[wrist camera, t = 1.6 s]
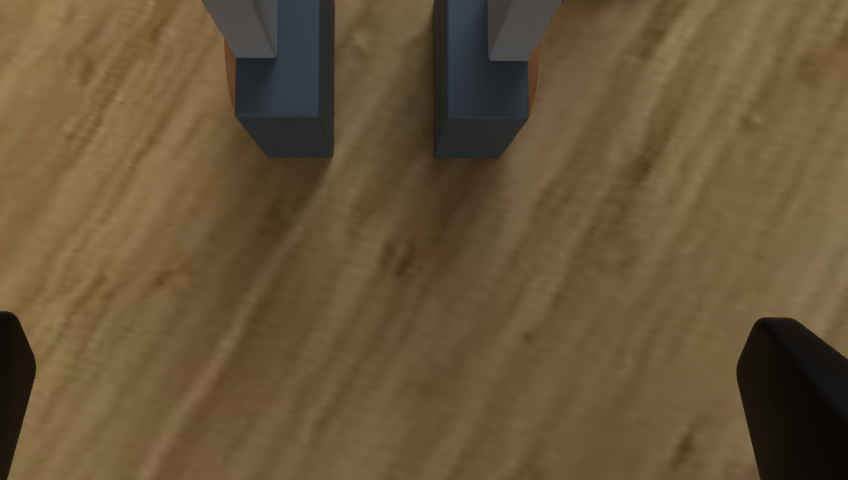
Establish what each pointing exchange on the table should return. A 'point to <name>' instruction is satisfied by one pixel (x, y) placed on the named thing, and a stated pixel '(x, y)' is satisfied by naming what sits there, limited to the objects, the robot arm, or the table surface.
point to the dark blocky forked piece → (314, 72)
